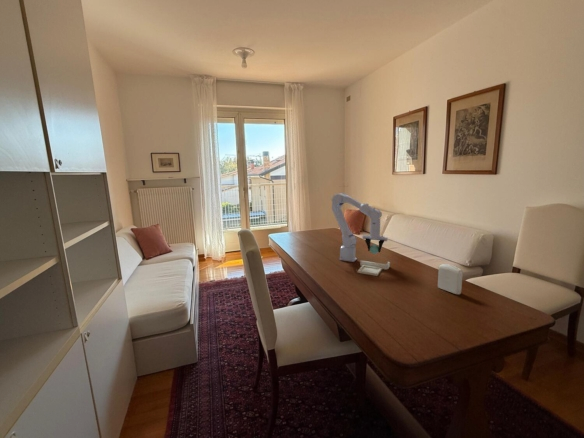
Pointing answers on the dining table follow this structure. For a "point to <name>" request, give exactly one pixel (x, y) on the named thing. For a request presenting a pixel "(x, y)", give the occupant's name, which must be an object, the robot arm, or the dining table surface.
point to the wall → (375, 264)
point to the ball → (374, 249)
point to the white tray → (369, 270)
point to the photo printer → (450, 278)
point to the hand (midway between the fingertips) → (374, 251)
